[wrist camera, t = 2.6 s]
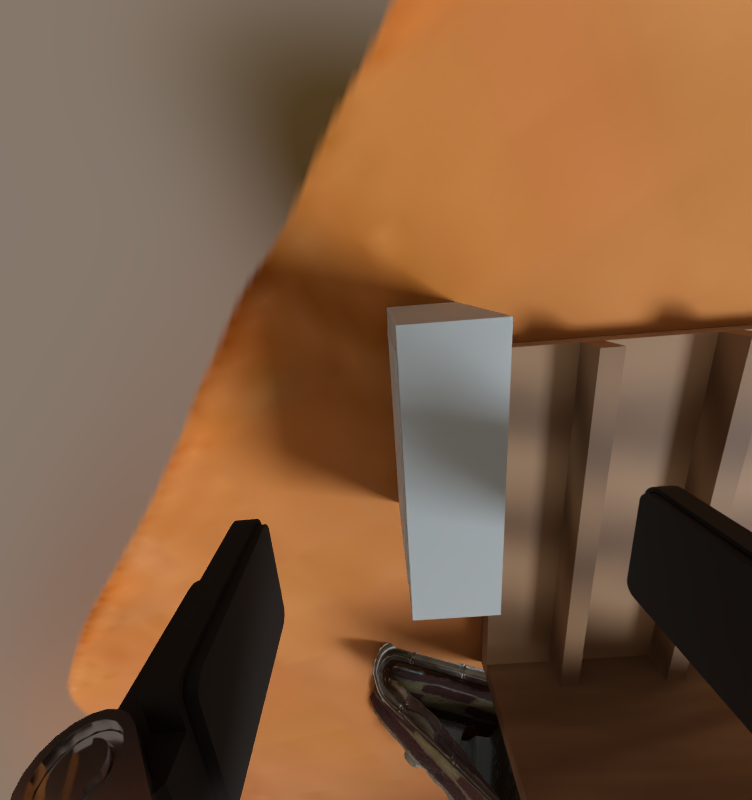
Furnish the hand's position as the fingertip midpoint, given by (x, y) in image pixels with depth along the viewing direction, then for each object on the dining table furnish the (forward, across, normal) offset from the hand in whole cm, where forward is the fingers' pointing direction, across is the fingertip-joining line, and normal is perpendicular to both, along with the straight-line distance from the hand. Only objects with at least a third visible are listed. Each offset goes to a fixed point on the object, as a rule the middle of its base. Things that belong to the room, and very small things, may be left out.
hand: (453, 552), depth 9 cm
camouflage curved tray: (+10, -1, +20) cm, 22 cm away
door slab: (+9, -1, -1) cm, 9 cm away
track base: (+9, -11, +6) cm, 15 cm away
